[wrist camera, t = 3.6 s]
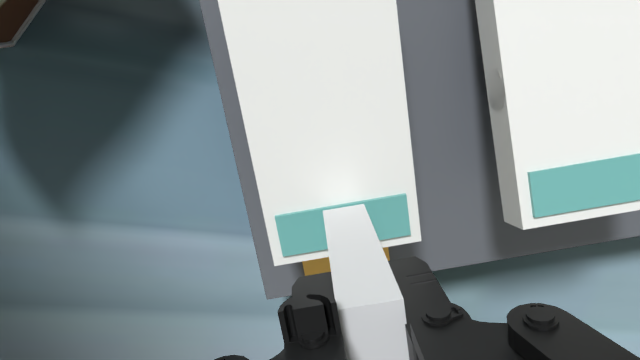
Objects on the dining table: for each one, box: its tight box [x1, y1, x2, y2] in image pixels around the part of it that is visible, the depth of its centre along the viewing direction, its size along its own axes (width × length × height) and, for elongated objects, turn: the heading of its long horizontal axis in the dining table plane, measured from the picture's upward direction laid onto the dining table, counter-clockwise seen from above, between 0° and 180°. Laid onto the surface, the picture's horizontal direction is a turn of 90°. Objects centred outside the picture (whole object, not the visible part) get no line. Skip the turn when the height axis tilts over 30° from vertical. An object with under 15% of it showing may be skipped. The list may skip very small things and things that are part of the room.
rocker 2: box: [475, 0, 640, 230], centre depth 16 cm, size 10×6×2 cm, turn 9°
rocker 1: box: [218, 0, 421, 266], centre depth 16 cm, size 10×6×2 cm, turn 9°
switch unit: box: [199, 0, 640, 299], centre depth 20 cm, size 17×26×6 cm, turn 99°
